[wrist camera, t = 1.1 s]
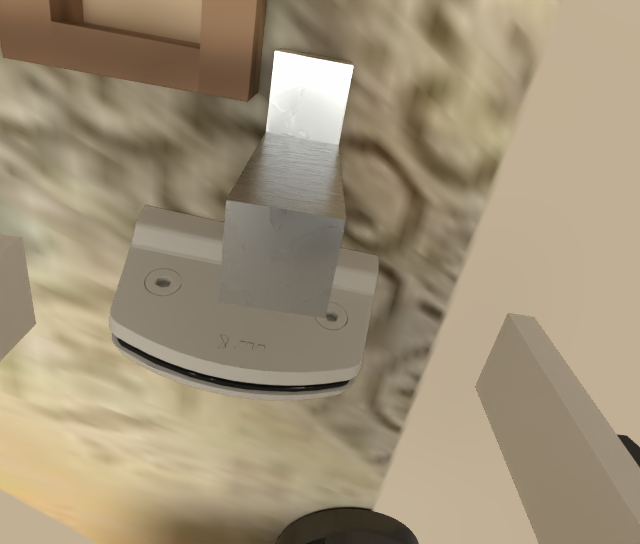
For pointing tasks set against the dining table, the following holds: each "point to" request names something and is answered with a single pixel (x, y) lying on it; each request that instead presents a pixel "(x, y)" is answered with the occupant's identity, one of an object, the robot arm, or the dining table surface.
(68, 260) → the dining table surface
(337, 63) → the bracket
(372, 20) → the dining table surface
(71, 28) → the frame
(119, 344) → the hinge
